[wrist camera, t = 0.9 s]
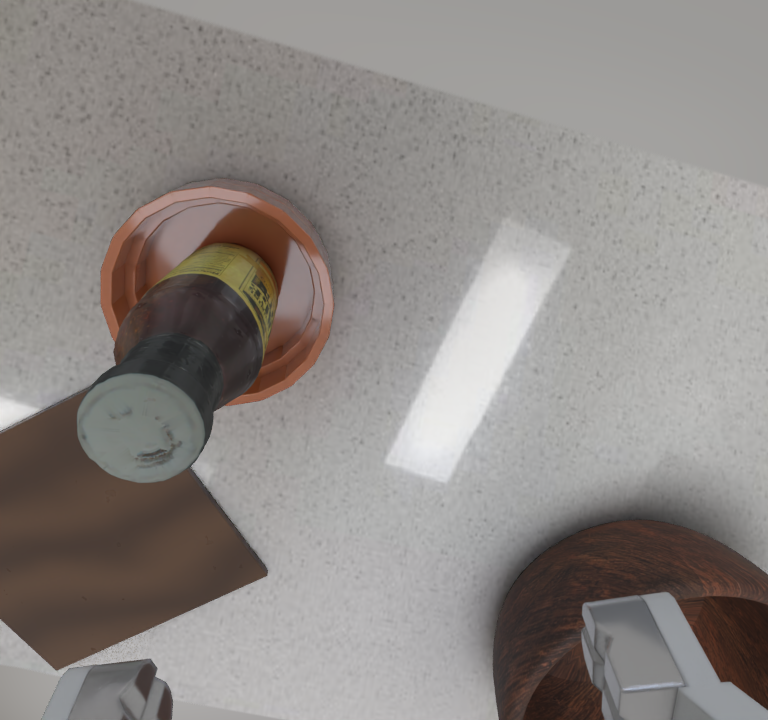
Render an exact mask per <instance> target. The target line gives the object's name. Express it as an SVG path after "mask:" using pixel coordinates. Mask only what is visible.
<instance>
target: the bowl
mask: <svg viewBox="0 0 768 720" xmlns="http://www.w3.org/2000/svg"><path fill="white" fill-rule="evenodd" d="M213 243H239V244H241V245H244V246H246V247H247V248H249V249H251V250H252V251H254V252H256V253H257V254H258V255H259V256H260V257H261V258H262V259H264V261H265V262H266V263H268V264H269V265H270V267H271V269H272V271H273V275H274V277H275V279H276V282H277V287H278V304H277V308H276V312H275V317H274V320H273V324H272V328H271V333H270V336H269V341H268V344H267V347H266V351H265V355H264V359H263V363H262V366H261V369H260V372H259V374H258V377H257V378H256V380H255V382H254V383H253V384H252V386H251V387H250V388H249V389H248V390H247V391H246V392H245V393H243V394H242V395H241V396H239V397H237V398H236V399H234V400H232V401H231V402H229V403H227V404H226V405H225V406H231V405H237V404H243V403H249V402H256V401H261V400H264V399H266V398H268V397H270V396H272V395H274V394H276V393H278V392H280V391H283V390H285V389H287V388H289V387H290V386H292V385H293V384H294V383H295V382H296V381H297V380H298V379H299V378H301V377H302V376H303V375H304V374H305V373H306V372H307V371H308V370H309V369H310V368H311V367H312V366H313V365H314V364H315V362H316V360H317V358H318V356H319V355H320V353H321V351H322V349H323V347H324V345H325V343H326V341H327V340H328V338H329V334H330V328H331V322H332V316H333V309H334V293H333V281H332V275H331V269H330V263H329V257H328V254H327V251H326V249H325V247H324V245H323V243H322V241H321V239H320V237H319V235H318V233H317V231H316V230H315V228H314V226H313V224H312V223H311V222H310V221H309V220H308V219H307V218H306V217H305V216H304V215H303V214H302V213H301V212H300V211H299V210H298V209H297V208H296V207H295V206H294V205H293V204H292V203H291V202H290V201H288V200H287V199H285V198H284V197H282V196H280V195H278V194H276V193H274V192H272V191H270V190H268V189H266V188H264V187H263V186H261V185H259V184H258V185H257V184H255V183H250V182H244V181H239V180H233V179H227V178H218V179H211V180H204V181H197V182H190V183H187V184H185V185H183V186H181V187H179V188H177V189H175V190H173V191H170V192H168V193H167V194H165V195H163V196H161V197H159V198H157V199H155V200H153V201H151V202H149V203H148V204H146V205H144V206H142V207H140V208H138V209H137V210H136V211H135V212H134V213H133V214H132V215H131V217H130V218H129V219H128V220H127V221H126V222H125V223H124V224H123V226H122V227H121V228H120V229H119V230H118V231H117V232H116V233H115V235H114V236H113V238H112V240H111V243H110V246H109V248H108V251H107V254H106V256H105V259H104V262H103V264H102V267H101V307H102V310H103V313H104V316H105V319H106V321H107V324H108V327H109V330H110V333H111V336H112V338H113V340H114V341H116V338H117V334H118V331H119V328H120V326H121V324H122V322H123V320H124V319H125V317H126V316H127V314H128V313H129V311H130V310H131V309H132V307H134V306H135V305H136V304H137V303H138V302H139V301H140V300H141V298H142V297H143V296H144V295H145V293H146V292H147V291H148V290H149V289H150V288H152V287H153V286H154V285H155V284H156V283H158V282H159V281H160V280H161V279H162V278H163V277H165V276H166V275H167V274H168V273H169V272H171V271H172V270H173V269H174V268H175V267H177V266H178V265H179V264H180V263H181V262H182V261H184V260H185V259H186V258H187V257H188V256H190V255H191V254H192V253H193V252H195V251H196V250H198V249H200V248H202V247H204V246H207V245H210V244H213Z"/></svg>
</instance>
